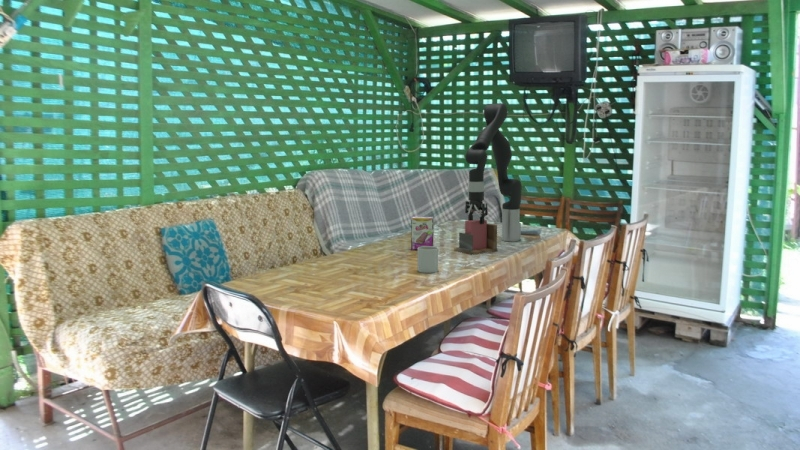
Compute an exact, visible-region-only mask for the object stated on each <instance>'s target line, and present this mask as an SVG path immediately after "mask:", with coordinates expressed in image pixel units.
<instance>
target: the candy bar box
mask: <svg viewBox="0 0 800 450" xmlns="http://www.w3.org/2000/svg"><path fill="white" fill-rule="evenodd" d="M434 218H435V217H433V216H412V217H411V219H410V220H411V221H410V222H411V225H410V228H411V230H410V231H411V235H410V238H411V239H410V249H411V250H412V251H417V248H418V247H422V246H434V245H435V244H434V240H435V239H434V238H435V237H434V232H435V231H434V224H435V220H434ZM434 247H435V246H434Z"/></svg>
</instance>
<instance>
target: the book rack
mask: <svg viewBox="0 0 800 450" xmlns="http://www.w3.org/2000/svg"><path fill="white" fill-rule="evenodd" d="M458 240H459V241H458V244H459V245H458V247H455V248H454V249H453V250H454V252H457V251H458V253H461V252H462V254H465V253H466V255H469V256H470V255H471V256H472V254H473V255H479V253H480V254H486V253H494V252H498V225H497V224H492V223H488V222H487V248H484V249H477V250H473V235H470V234H465V232H458Z"/></svg>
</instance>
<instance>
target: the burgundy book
mask: <svg viewBox="0 0 800 450" xmlns="http://www.w3.org/2000/svg"><path fill="white" fill-rule="evenodd" d="M464 223H465V224H464V233H465V234H470V235H473V250H477V249H484V248H487V223H488V220H486V219H484V224H480V218H479V219H473V220H470V221H468V220H465V222H464Z"/></svg>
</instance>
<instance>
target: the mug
mask: <svg viewBox="0 0 800 450" xmlns="http://www.w3.org/2000/svg"><path fill="white" fill-rule="evenodd" d="M416 251H417V272H419V273H424V274H430V273H431V274H432V273H437V272H439V247H437V246H422V247H418V248H417V250H416Z"/></svg>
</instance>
